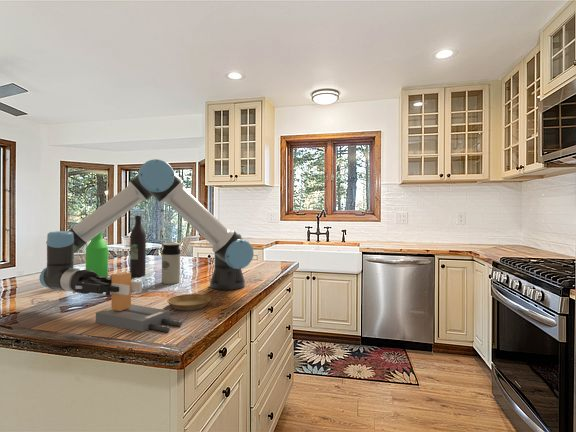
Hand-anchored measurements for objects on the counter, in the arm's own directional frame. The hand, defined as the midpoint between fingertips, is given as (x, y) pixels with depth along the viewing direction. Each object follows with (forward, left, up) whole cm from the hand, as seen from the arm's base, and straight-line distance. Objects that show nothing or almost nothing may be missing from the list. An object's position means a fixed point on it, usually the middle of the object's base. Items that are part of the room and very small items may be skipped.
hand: (134, 288), depth 103 cm
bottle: (+33, -58, -10) cm, 68 cm away
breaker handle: (+5, -3, -7) cm, 9 cm away
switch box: (-3, +1, -10) cm, 10 cm away
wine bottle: (+19, -71, -10) cm, 74 cm away
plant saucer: (-14, -16, -10) cm, 24 cm away
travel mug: (0, -55, -10) cm, 56 cm away
